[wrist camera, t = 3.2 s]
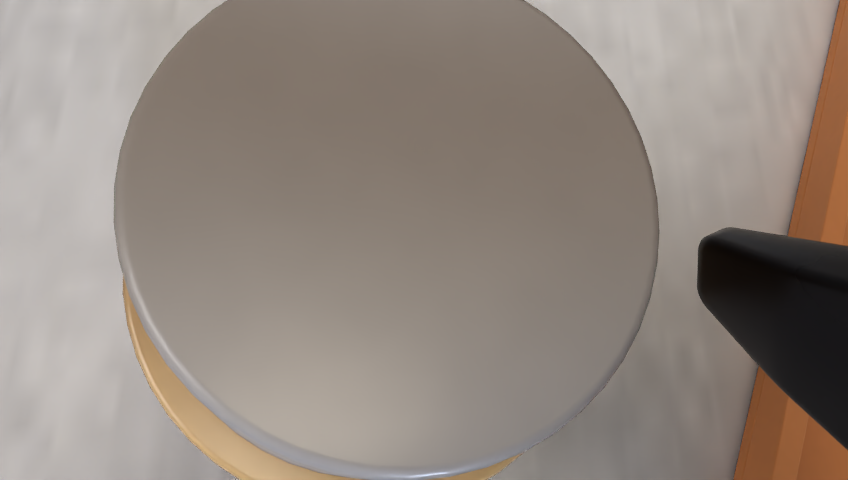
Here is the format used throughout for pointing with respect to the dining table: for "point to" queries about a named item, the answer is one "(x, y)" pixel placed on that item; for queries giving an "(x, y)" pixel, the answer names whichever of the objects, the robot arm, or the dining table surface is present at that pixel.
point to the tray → (820, 221)
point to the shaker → (381, 236)
